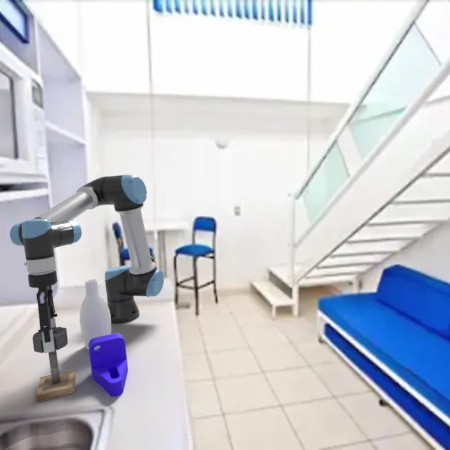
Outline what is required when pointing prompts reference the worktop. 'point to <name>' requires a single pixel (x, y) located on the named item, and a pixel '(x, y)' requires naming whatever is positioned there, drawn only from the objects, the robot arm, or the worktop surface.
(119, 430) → the worktop surface
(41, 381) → the peg base board
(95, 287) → the bottle
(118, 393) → the bracket
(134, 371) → the worktop surface
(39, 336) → the dark grey gear
